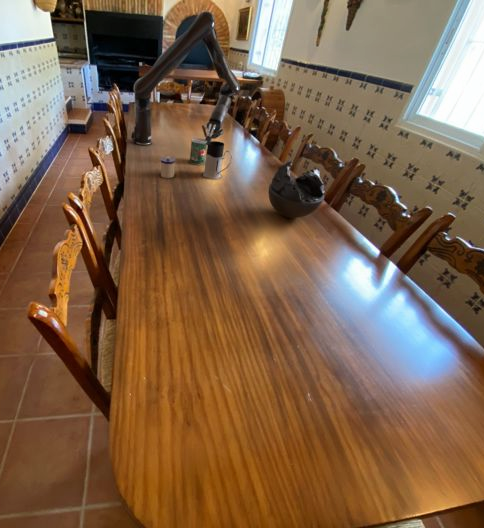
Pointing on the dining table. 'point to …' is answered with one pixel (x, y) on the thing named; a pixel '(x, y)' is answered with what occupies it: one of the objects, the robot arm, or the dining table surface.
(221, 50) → the robot arm
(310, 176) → the broken dark shell
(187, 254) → the dining table surface
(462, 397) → the dining table surface
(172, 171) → the salt pot
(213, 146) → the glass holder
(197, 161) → the canned tomato
